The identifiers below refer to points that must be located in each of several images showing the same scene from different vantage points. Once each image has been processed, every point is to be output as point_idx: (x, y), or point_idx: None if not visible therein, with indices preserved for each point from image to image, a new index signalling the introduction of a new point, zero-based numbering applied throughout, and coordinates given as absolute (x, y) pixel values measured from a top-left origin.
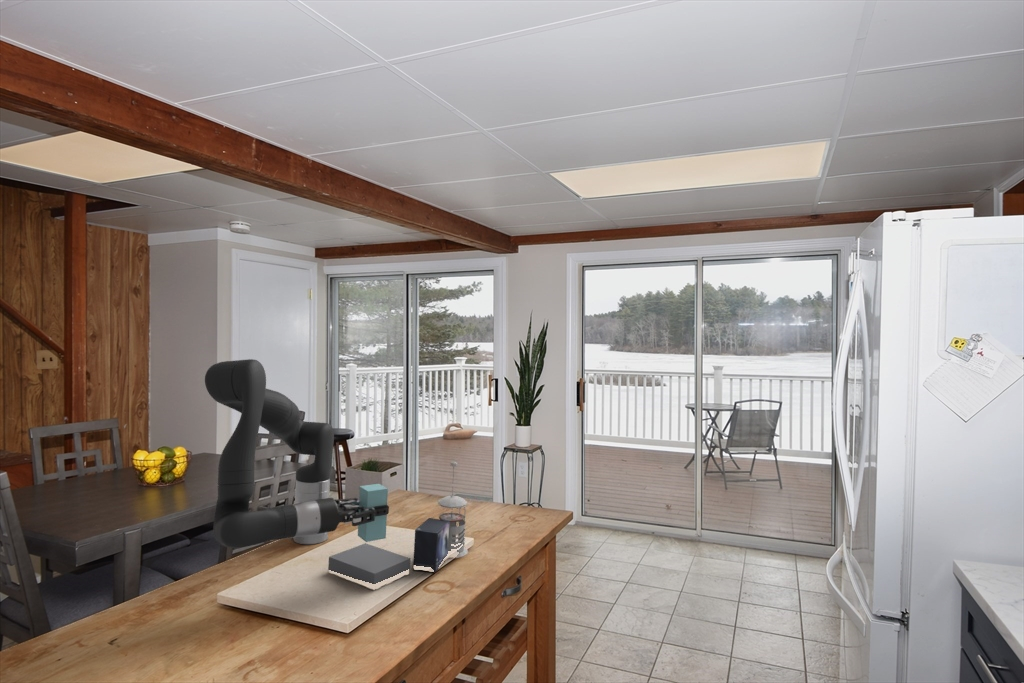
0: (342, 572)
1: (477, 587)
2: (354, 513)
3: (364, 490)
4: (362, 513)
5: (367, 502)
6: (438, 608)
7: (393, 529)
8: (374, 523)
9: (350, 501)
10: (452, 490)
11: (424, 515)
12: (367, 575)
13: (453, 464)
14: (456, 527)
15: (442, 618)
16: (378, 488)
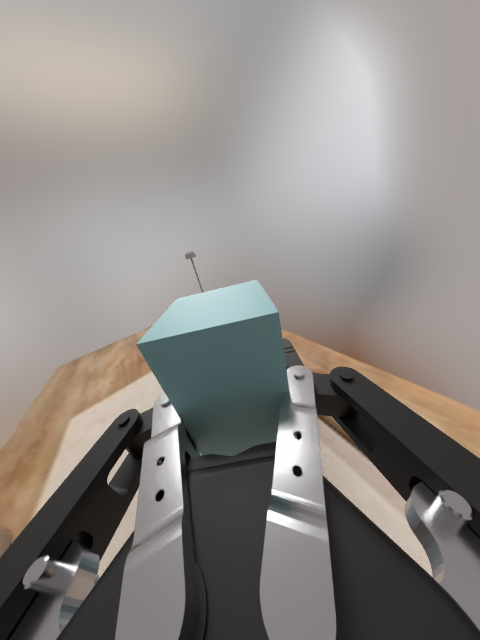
0: None
1: (330, 352)
2: (361, 512)
3: (220, 333)
4: (454, 447)
5: (284, 372)
6: (414, 405)
7: (121, 395)
8: None
9: (162, 471)
10: (202, 292)
11: (126, 360)
12: None
13: (193, 254)
14: None
15: (461, 408)
16: (239, 293)
